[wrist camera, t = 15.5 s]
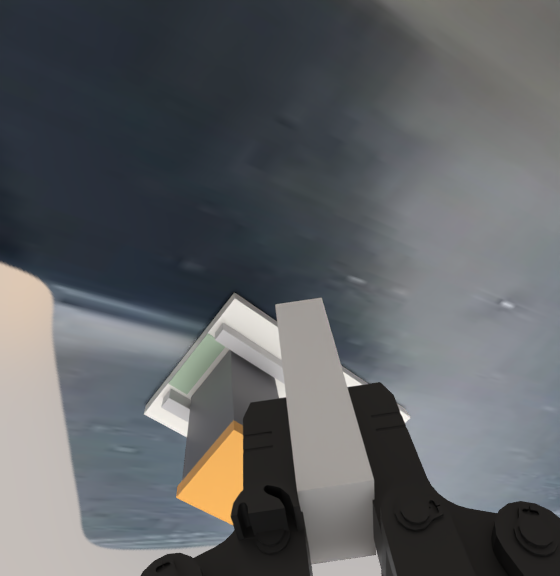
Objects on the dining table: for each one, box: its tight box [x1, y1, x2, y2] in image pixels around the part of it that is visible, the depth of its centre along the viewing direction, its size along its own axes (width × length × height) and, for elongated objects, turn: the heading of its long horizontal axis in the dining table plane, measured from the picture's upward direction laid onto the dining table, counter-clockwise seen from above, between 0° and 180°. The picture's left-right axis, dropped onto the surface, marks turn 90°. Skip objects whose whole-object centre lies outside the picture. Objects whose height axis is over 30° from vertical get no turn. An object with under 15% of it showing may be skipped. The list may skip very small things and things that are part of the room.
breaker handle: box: [176, 350, 279, 525], centre depth 35 cm, size 5×6×12 cm
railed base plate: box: [144, 292, 411, 437], centre depth 42 cm, size 22×14×3 cm, turn 51°
